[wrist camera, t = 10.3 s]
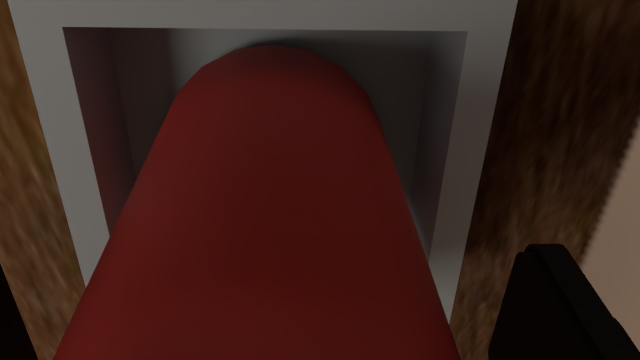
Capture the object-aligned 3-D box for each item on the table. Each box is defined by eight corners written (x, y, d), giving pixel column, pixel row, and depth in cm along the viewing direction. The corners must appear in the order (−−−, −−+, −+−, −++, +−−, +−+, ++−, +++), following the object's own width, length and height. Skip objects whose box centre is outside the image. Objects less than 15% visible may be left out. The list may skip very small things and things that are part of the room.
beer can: (417, 161, 17) (603, 608, 7) (257, 256, 19) (218, 725, 9) (299, -11, 14) (325, 332, 4) (121, 120, 16) (-177, 591, 6)
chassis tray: (69, -52, 14) (1, -23, 11) (467, -44, 15) (520, -14, 12) (133, 262, 20) (101, 345, 17) (420, 258, 21) (445, 337, 17)
